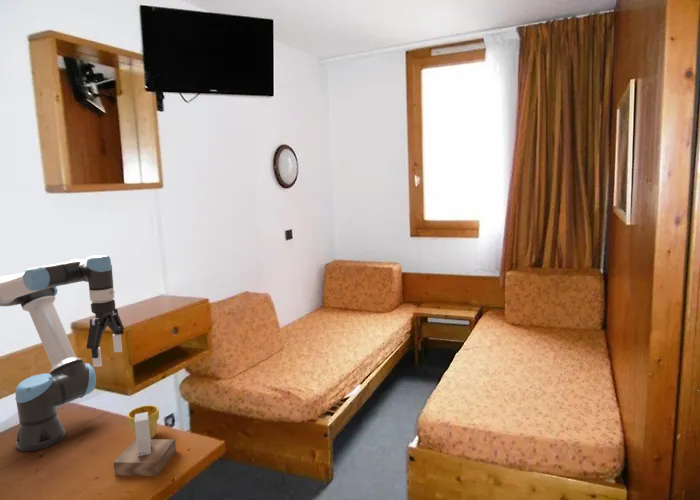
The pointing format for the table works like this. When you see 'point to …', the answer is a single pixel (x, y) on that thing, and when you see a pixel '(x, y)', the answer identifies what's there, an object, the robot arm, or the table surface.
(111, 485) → the table surface
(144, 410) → the plant pot
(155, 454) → the walnut block
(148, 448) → the skincare box
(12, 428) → the table surface
